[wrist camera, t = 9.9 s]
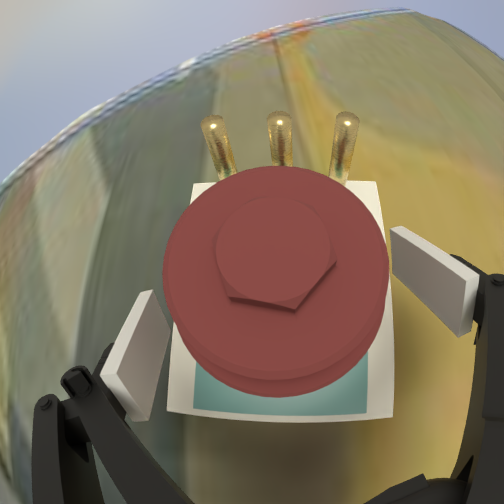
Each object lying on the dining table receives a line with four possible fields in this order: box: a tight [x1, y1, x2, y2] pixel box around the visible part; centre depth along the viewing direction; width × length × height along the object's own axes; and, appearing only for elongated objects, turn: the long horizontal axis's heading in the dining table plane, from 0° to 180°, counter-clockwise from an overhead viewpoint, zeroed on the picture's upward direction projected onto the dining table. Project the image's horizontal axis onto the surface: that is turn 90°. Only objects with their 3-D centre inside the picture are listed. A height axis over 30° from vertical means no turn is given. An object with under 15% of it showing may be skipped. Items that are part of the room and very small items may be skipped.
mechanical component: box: [163, 166, 389, 398], centre depth 15 cm, size 12×10×10 cm
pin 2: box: [267, 111, 293, 167], centre depth 21 cm, size 1×1×9 cm
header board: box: [167, 181, 394, 423], centre depth 22 cm, size 16×19×1 cm
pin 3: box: [328, 112, 360, 186], centre depth 20 cm, size 1×1×9 cm
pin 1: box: [201, 115, 238, 181], centre depth 21 cm, size 1×1×9 cm
